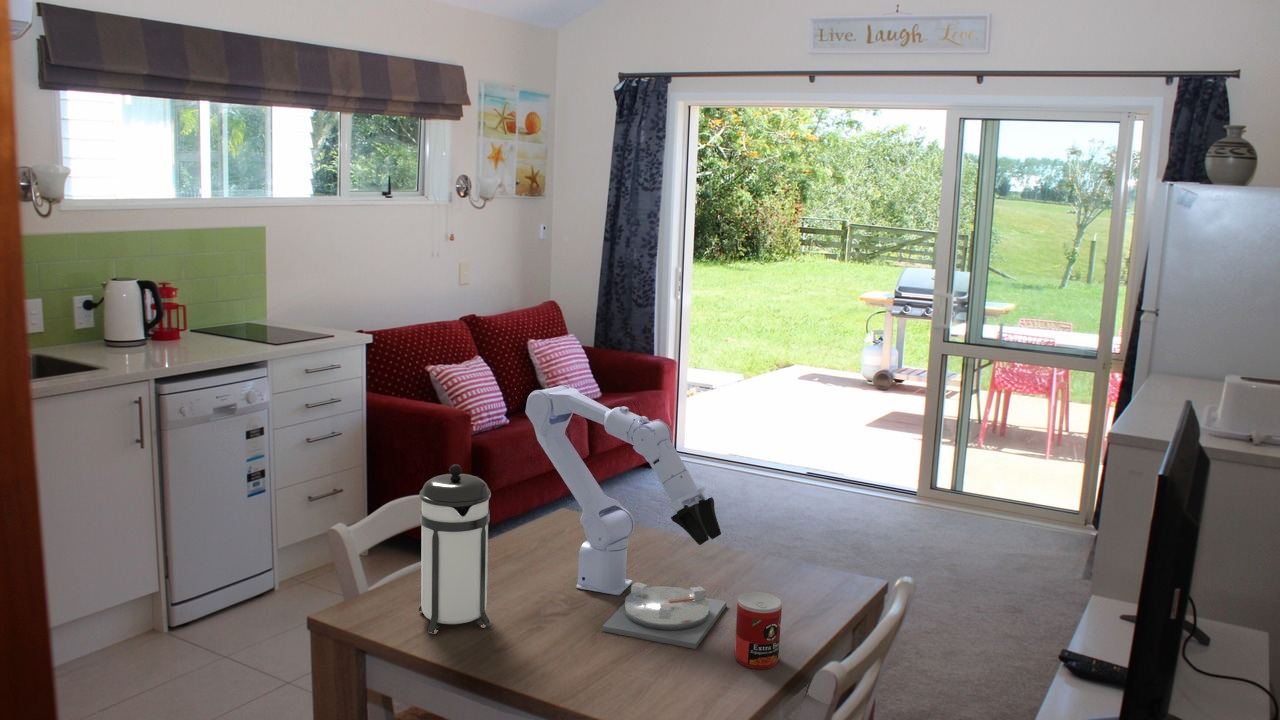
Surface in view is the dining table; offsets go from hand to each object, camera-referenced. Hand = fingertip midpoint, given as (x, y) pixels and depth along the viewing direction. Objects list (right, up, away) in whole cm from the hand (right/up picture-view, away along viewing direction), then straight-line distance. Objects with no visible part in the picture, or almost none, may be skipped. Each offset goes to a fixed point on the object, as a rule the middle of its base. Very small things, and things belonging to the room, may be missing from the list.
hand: (710, 539), depth 196 cm
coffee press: (-49, -14, -3) cm, 51 cm away
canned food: (+7, -19, -15) cm, 25 cm away
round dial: (-8, -14, +1) cm, 16 cm away
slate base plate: (-8, -15, +1) cm, 17 cm away
